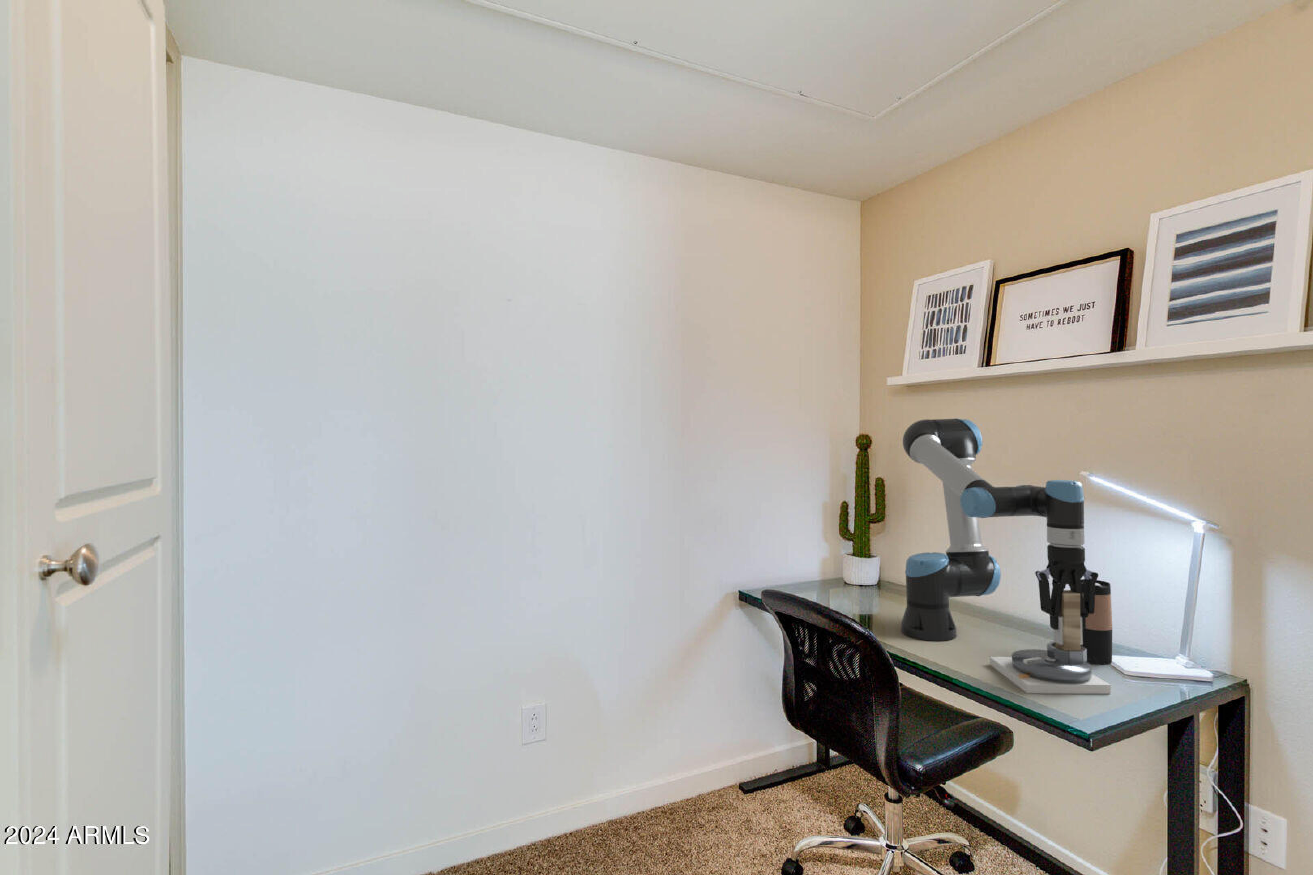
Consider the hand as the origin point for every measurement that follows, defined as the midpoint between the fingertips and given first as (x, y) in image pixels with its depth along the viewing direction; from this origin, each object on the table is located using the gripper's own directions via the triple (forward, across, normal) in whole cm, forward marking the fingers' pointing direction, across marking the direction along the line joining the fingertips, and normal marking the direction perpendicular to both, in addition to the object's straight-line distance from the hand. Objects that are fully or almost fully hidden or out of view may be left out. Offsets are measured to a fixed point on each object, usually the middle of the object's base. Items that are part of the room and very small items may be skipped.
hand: (1068, 642), depth 147 cm
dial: (+6, -5, -1) cm, 8 cm away
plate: (+9, -5, 0) cm, 10 cm away
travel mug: (+9, +14, +13) cm, 21 cm away
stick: (+4, 0, 0) cm, 4 cm away
